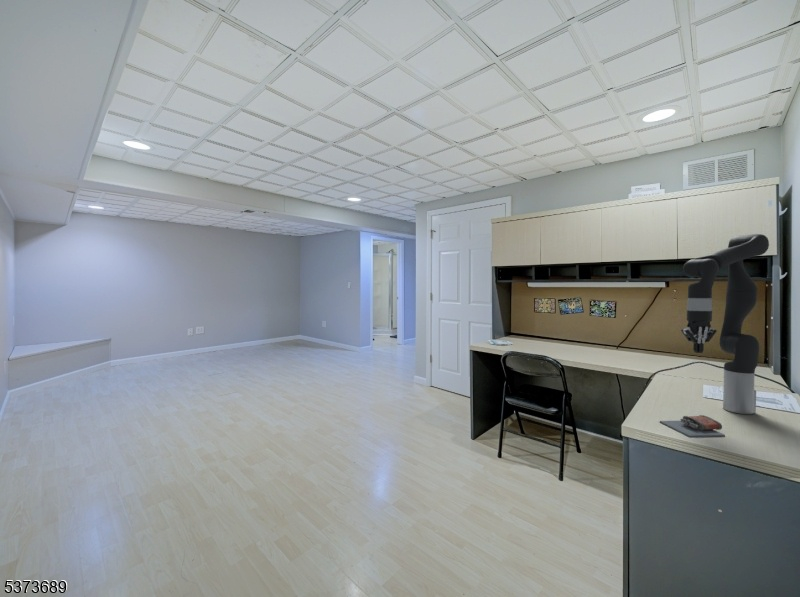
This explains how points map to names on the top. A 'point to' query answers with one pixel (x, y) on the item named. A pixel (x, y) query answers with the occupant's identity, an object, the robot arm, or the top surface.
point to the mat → (691, 430)
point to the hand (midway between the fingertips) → (698, 352)
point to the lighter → (701, 422)
